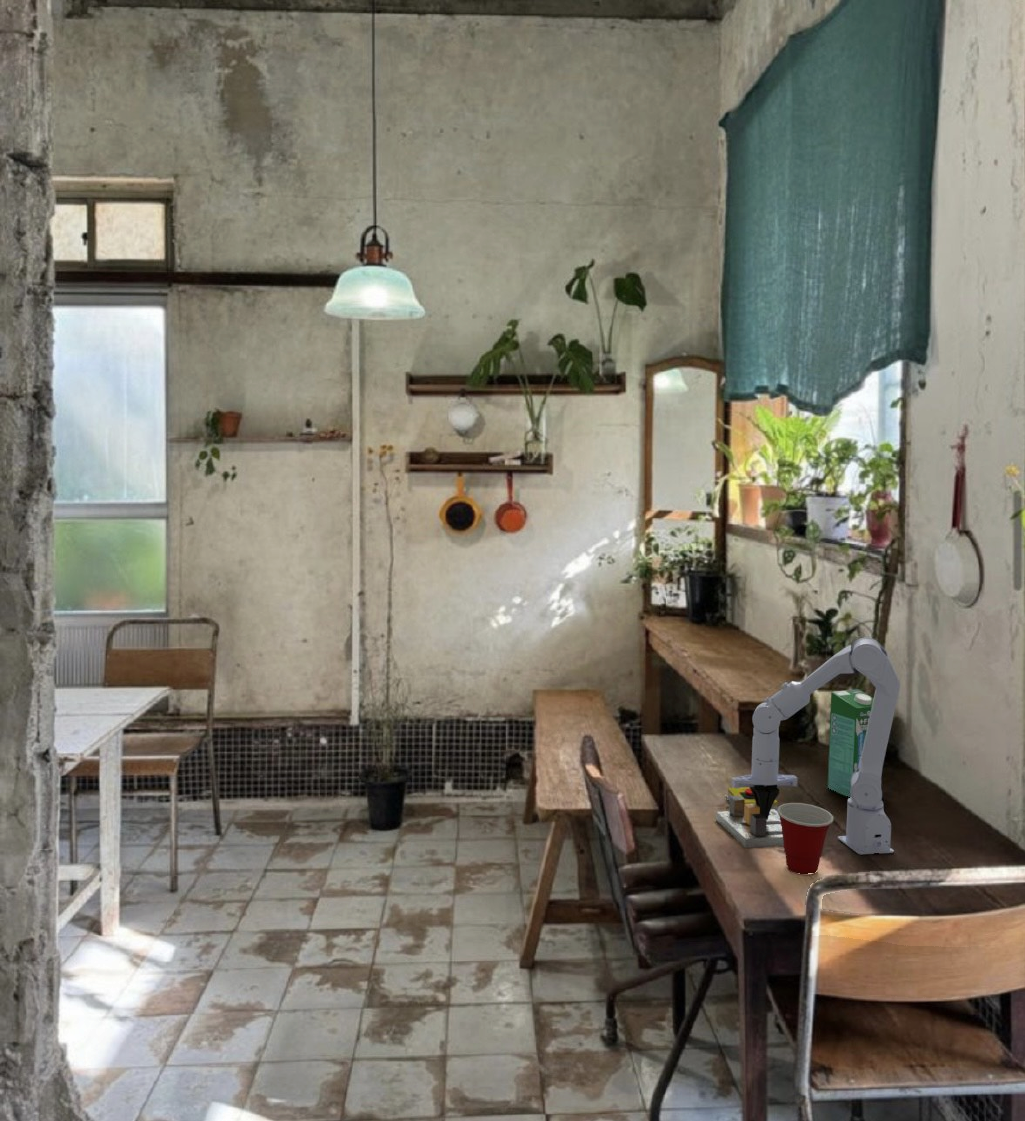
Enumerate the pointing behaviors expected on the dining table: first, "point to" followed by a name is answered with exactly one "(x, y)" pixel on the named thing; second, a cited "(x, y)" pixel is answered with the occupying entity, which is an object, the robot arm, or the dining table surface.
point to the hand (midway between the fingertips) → (763, 818)
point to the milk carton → (846, 736)
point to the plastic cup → (803, 835)
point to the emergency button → (746, 795)
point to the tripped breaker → (750, 811)
